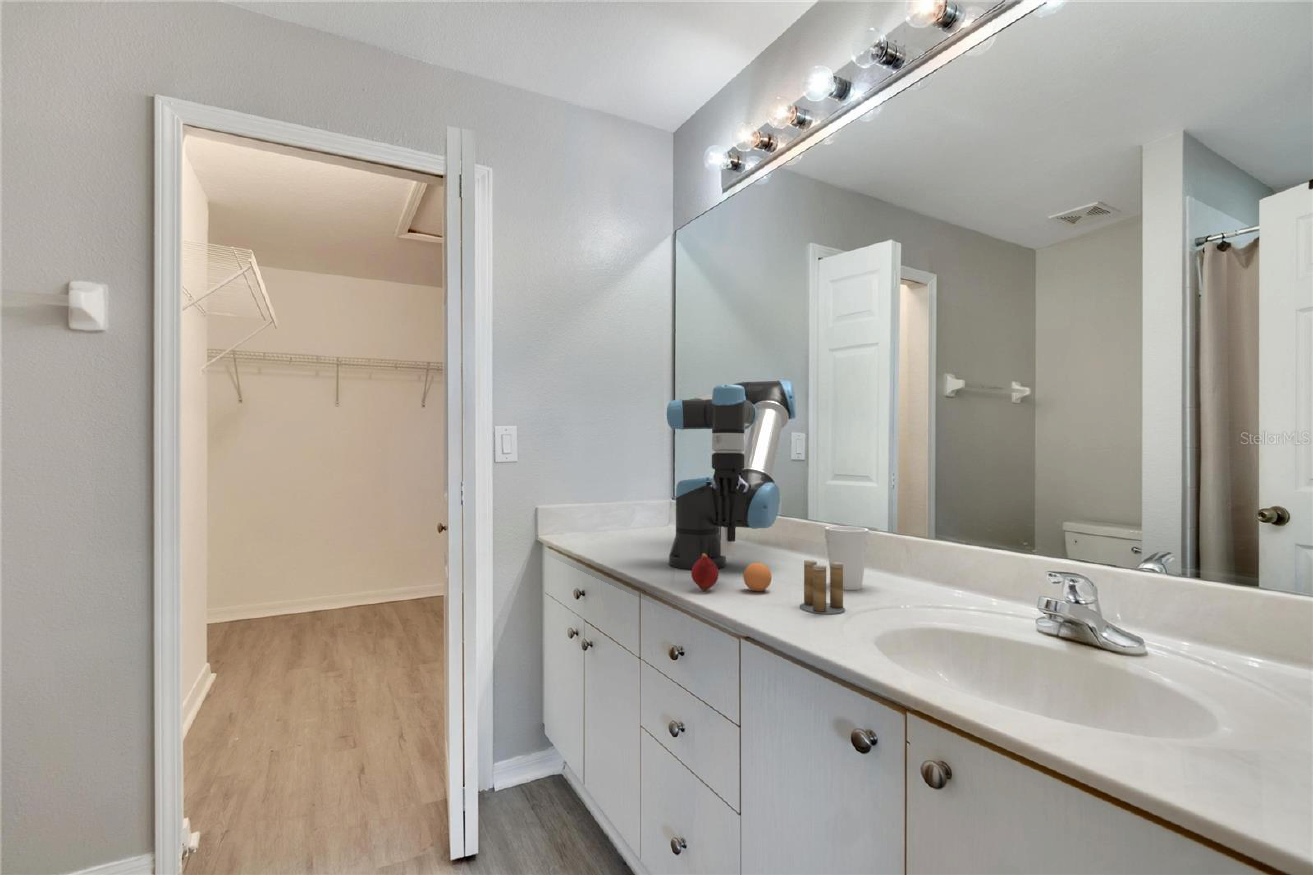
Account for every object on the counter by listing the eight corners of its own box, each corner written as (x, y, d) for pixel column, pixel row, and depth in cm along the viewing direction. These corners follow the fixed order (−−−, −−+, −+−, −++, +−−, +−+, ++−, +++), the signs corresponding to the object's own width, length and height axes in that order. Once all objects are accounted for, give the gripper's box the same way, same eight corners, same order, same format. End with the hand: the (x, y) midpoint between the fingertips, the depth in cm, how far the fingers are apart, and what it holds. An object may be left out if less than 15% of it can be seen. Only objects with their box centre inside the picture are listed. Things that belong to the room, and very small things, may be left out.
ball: (744, 587, 133) (745, 559, 133) (772, 588, 132) (772, 561, 132) (741, 593, 127) (742, 564, 127) (770, 595, 126) (770, 566, 126)
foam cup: (816, 585, 135) (816, 528, 135) (839, 580, 141) (839, 525, 141) (855, 593, 128) (855, 532, 128) (876, 587, 134) (876, 529, 134)
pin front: (804, 603, 119) (804, 559, 119) (816, 604, 119) (816, 560, 119) (804, 606, 117) (804, 561, 117) (816, 607, 116) (816, 562, 116)
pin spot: (800, 601, 120) (800, 600, 120) (843, 604, 118) (843, 603, 118) (799, 612, 112) (799, 611, 112) (846, 615, 110) (846, 614, 110)
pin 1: (813, 609, 114) (813, 564, 114) (826, 610, 114) (826, 565, 114) (813, 613, 112) (813, 566, 112) (826, 614, 111) (826, 567, 112)
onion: (718, 588, 132) (718, 551, 132) (718, 594, 126) (718, 556, 126) (691, 587, 132) (692, 551, 133) (690, 593, 127) (691, 555, 127)
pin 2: (829, 606, 117) (829, 561, 117) (842, 607, 117) (842, 562, 117) (830, 609, 115) (830, 564, 115) (843, 610, 114) (843, 564, 114)
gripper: (697, 452, 141) (696, 552, 140) (735, 451, 130) (734, 560, 130) (721, 452, 145) (720, 550, 145) (760, 452, 135) (759, 558, 134)
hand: (727, 555), depth 137 cm, fingers closed
